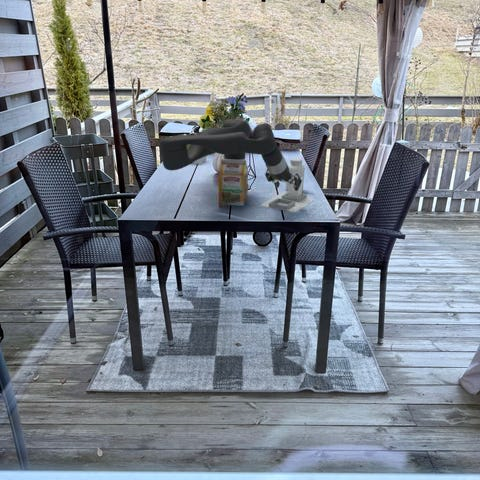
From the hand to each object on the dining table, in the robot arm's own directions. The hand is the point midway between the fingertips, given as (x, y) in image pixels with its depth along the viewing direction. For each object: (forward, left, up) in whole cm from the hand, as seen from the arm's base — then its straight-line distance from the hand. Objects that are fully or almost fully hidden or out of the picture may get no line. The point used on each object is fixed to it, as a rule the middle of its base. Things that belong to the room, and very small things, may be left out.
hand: (287, 187), depth 173 cm
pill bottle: (+9, +21, -8) cm, 24 cm away
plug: (+5, +6, -7) cm, 10 cm away
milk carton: (-22, +6, -8) cm, 24 cm away
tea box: (-36, +85, -8) cm, 92 cm away
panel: (+1, +2, -8) cm, 8 cm away
